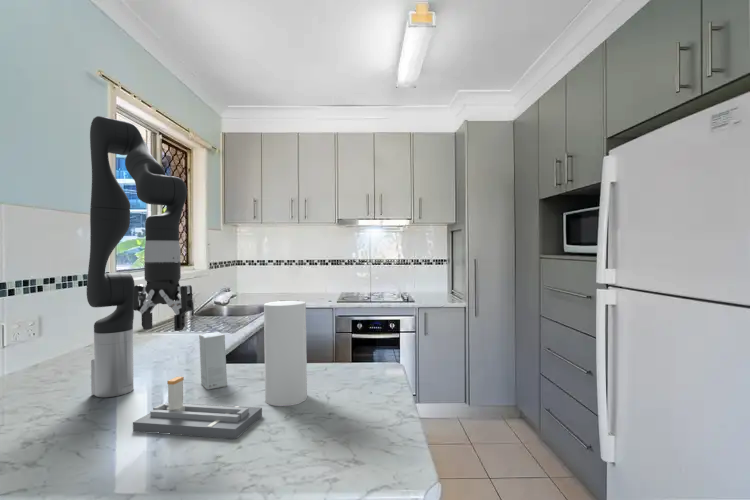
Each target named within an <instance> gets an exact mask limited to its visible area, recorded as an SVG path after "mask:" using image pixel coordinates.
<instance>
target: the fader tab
mask: <svg viewBox="0 0 750 500" xmlns="http://www.w3.org/2000/svg"><path fill="white" fill-rule="evenodd" d="M184 380H185V379H184V376H176V377H173V378H171V379H169V380H167V385H168V386H167V387H168V389H167V390H168V392H167V395H168V397H167V398H168V399H167V401H168V402H167V403H168V408H167V410H170V411H185V405H183V403H184Z"/></svg>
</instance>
